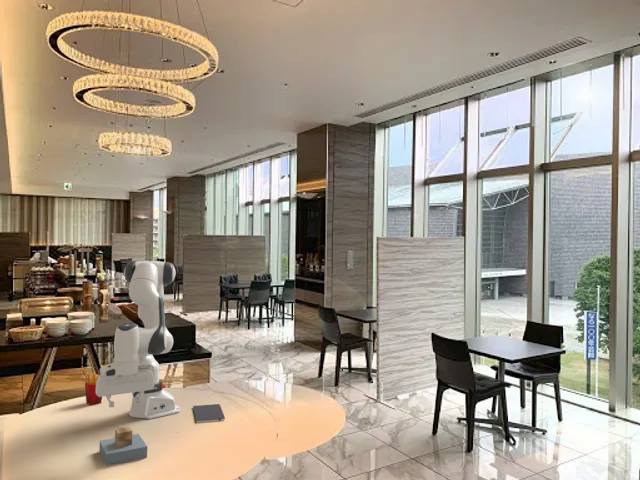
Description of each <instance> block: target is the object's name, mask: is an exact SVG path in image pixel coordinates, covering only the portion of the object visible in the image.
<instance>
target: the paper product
mask: <svg viewBox="0 0 640 480" xmlns="http://www.w3.org/2000/svg"><path fill="white" fill-rule="evenodd" d="M192 409H193V410H192V411H193V414H194V419H195V423H196V424H200V423H213V422H223V421H225V419H226V417H225V415H224V412H223V410H222V406H221V404H220V403H215V404H204V405H203V404H202V405H193V406H192Z"/></svg>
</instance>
